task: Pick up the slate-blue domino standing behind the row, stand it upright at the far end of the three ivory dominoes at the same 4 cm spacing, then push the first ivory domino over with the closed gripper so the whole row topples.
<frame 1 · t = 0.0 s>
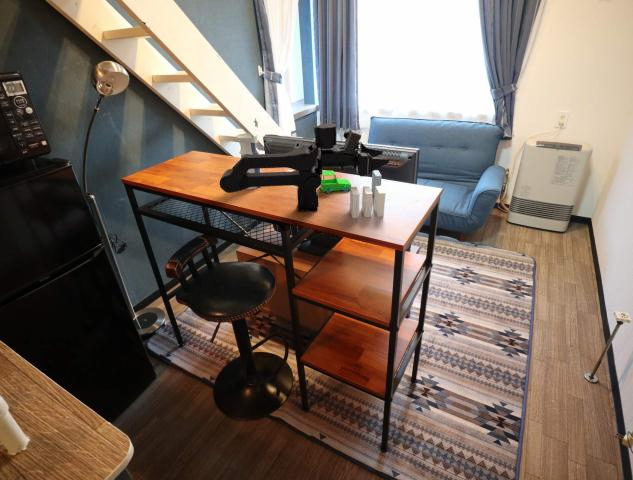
hand: (385, 156, 108), 17 cm above the table, tool horizontal, fingers open, 9 cm apart
tile 1: (354, 213, 111), on the table
water bottle: (253, 185, 136), on the table
toy car: (335, 189, 131), on the table
tile 3: (378, 212, 112), on the table
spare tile: (375, 194, 125), on the table
external hard drive: (286, 179, 142), on the table
tile 2: (366, 213, 112), on the table
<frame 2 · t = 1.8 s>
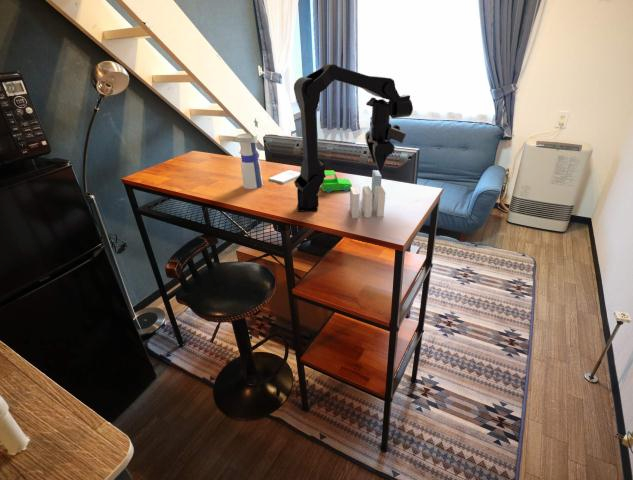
hand: (377, 166, 119), 10 cm above the table, tool pointing down, fingers open, 9 cm apart
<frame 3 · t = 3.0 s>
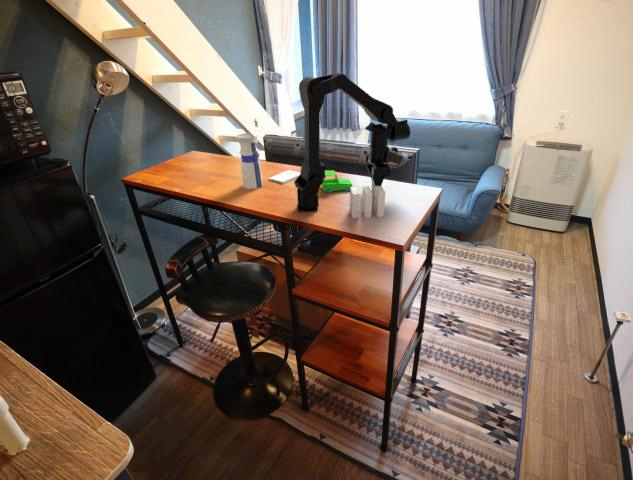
hand: (376, 186, 123), 3 cm above the table, tool pointing down, fingers closed on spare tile, 6 cm apart
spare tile: (375, 194, 125), on the table, touching gripper
everything else where it was.
when the fingers open (4 cm above the table, at t = 8.0 s): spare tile stays where it is, on the table.
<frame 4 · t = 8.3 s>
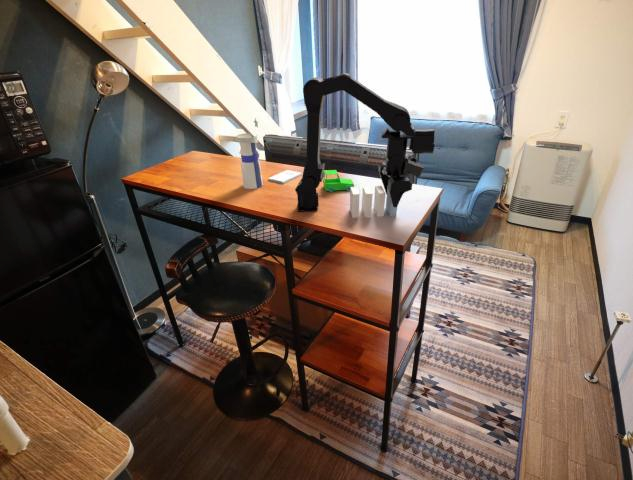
hand: (391, 201, 110), 4 cm above the table, tool pointing down, fingers open, 9 cm apart
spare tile: (390, 211, 112), on the table
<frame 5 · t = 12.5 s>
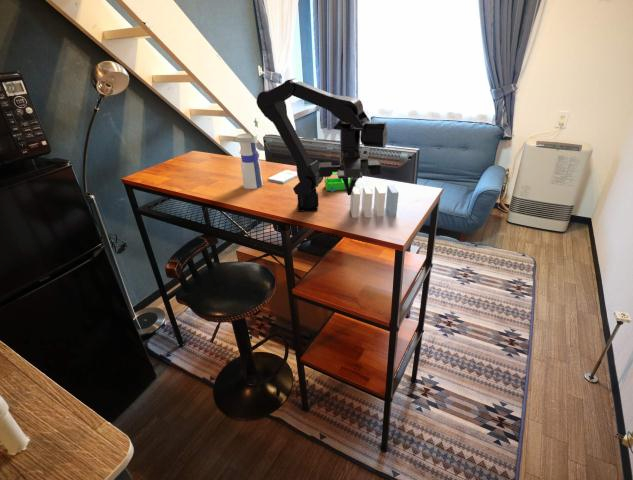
hand: (349, 194, 108), 7 cm above the table, tool pointing down, fingers closed
tile 1: (354, 213, 111), on the table, touching gripper
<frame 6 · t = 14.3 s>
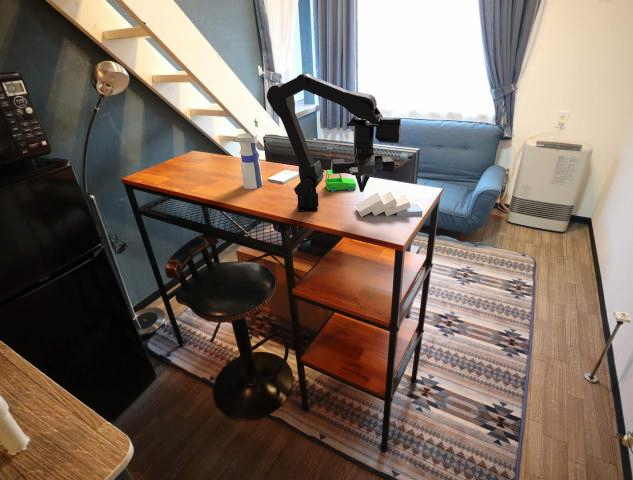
hand: (361, 191, 108), 7 cm above the table, tool pointing down, fingers closed
tile 1: (358, 210, 111), point 1 cm above the table, tilted 61°
tile 3: (383, 209, 111), point 1 cm above the table, tilted 69°, touching tile 2
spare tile: (395, 211, 112), on the table, tilted 90°
tile 2: (371, 209, 111), point 1 cm above the table, tilted 61°, touching tile 3
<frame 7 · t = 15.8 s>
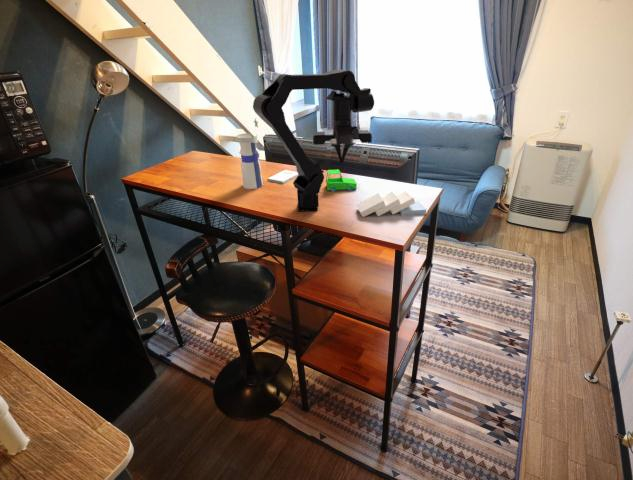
hand: (341, 163, 115), 13 cm above the table, tool pointing down, fingers closed
tile 1: (359, 210, 111), point 1 cm above the table, tilted 64°, touching tile 2
tile 3: (388, 208, 111), point 1 cm above the table, tilted 67°, touching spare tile, tile 2
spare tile: (398, 210, 112), on the table, tilted 90°, touching tile 3
tile 2: (374, 210, 111), point 1 cm above the table, tilted 63°, touching tile 1, tile 3
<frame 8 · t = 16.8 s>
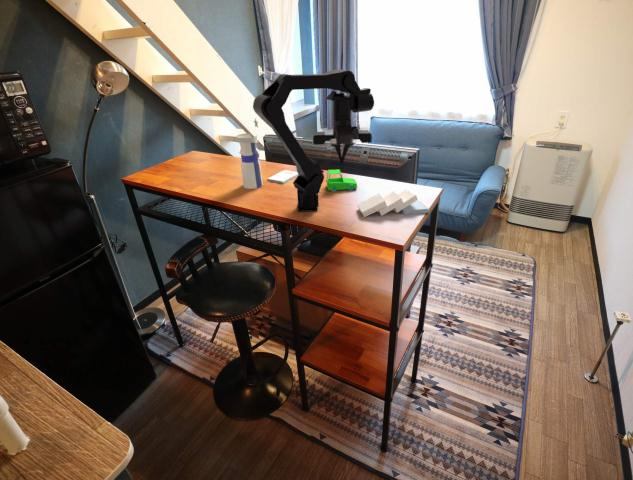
hand: (341, 163, 115), 13 cm above the table, tool pointing down, fingers closed
tile 1: (360, 210, 111), point 1 cm above the table, tilted 66°
tile 3: (391, 207, 112), point 1 cm above the table, tilted 67°, touching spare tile, tile 2
tile 2: (376, 209, 111), point 1 cm above the table, tilted 64°, touching tile 3
at the end: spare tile tilted 90°; tile 1 tilted 66°; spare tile inside the target area (1.5 cm from its centre), on the table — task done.
